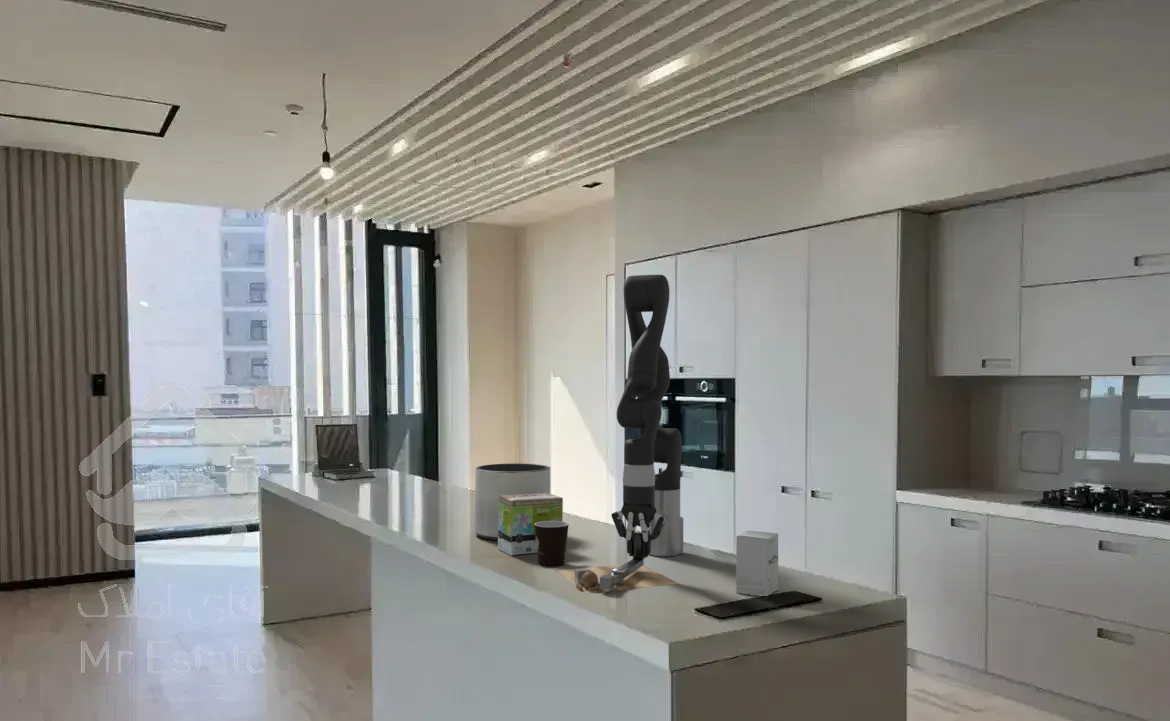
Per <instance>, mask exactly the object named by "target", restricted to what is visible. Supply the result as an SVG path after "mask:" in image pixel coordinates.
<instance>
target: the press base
mask: <svg viewBox="0 0 1170 721" xmlns="http://www.w3.org/2000/svg"><path fill="white" fill-rule="evenodd" d="M622 565H623V564H617V565H616V564H615V565H604V566H594V567H593V566H590V567H582V568H581V567H580V568H571V569H570V568H569V569H568V568H567V569H559V570H554V571H555V572H556V573H557V574H559V575H560V576H561V577H563V578H564V579H566V580H567V581H569V582H570V583H571V584H573V585H574V586H575V588H576V589H577V590H578V591H580V592H581V591H583V592H585V593H586V594H592V593H602V592H603V593H605V592H613V591H621V590H632V589H642V588H652V587H660V586H661V587H662V586H669V585H670V586H671V585H672V586H673V585H679V584H680V583H679V582H677V581H675V580H673V579H672V578H669V577H667V576H665V575H664V574H661V573H660V572H658V571H655V570H653V569H652V568H650V567H648V566H646V565H643V566H641V567H640V568H639V569H637V570H636V571H634V572H633V573H631V574H630V575H628V576H627V577H625V578H624V579H622V580H621V581H619V582H618V583H616V584H615V585H614V588H613V589H611V590H605V589H600V577H601V576H603V575H608V574H610V573H611V568H615V567H621V566H622ZM588 571H592V572H594V573H595V574H596V575H597V577H598V583H597V585H596V586H595V587H588V588H586V587H585V586H584V585H583V584H582V576H583V574H584V573H586V572H588Z"/></svg>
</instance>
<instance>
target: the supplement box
mask: <svg viewBox="0 0 1170 721" xmlns="http://www.w3.org/2000/svg"><path fill="white" fill-rule="evenodd" d="M735 539H736V544H735V545H736V546H735V548H736V549H735V550H736V554H735V555H736V556H735V557H736V558H735V559H736V560H735V562H736V564H735V566H736V567H735V568H736V569H735V570H736V573H735V574H736V576H735V578H736V579H735V585H736V586H735V592H736V593H737V594H741V593H742V594H743V595H748V594H750V595H749V596H754V595H759V596H758V597H761V596H768V595H769V596H771V595H772V594H773V592H774V591H775V592H777V591H778V590H779V533H778V532H777V533H776V532H767V531H755V530H746V531H745V532H742V533H740V534H737V535H736V538H735ZM777 589H778V590H777ZM776 590H777V591H776ZM775 592H774V593H775ZM771 593H772V594H771ZM770 594H771V595H770ZM760 595H761V596H760ZM769 596H768V597H769Z"/></svg>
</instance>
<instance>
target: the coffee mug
mask: <svg viewBox="0 0 1170 721" xmlns="http://www.w3.org/2000/svg"><path fill="white" fill-rule="evenodd" d="M569 525H570V524H569V523H568V522H566V521H562V522H561V521H543V522H537V523H535V524H534V526H535V535H536V544H537V553H536V554H537V560H538V561H537V562H538V565H539V566H540V565H541V566H540V567H544V566H545V567H546V568H557V567H561V566H564V565H565V559H566V550H567V541H568V534H569Z"/></svg>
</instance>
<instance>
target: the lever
mask: <svg viewBox="0 0 1170 721" xmlns="http://www.w3.org/2000/svg"><path fill="white" fill-rule="evenodd" d="M643 542H644V540H643V534H642V532H641V531H635V532H634V533H633V556H632V559H630V560H628V561H627V562H625V563H623V564H621V565H622V566H621V567H615V568H611V573H610V574H608V575H603V576H601V577H600V589H605V590H611V589H613V588H614V585H615V584H616V583H618V582H619V581H621V580H622V579H624V578H625V577H627V576H628V575H630V574H631V573H633V572H634V571H636V570H637V569H639V568H640V567H641V566H643V565H644V560H646V558H643ZM644 566H645V565H644Z"/></svg>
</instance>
